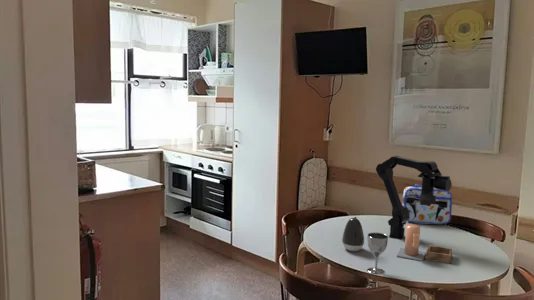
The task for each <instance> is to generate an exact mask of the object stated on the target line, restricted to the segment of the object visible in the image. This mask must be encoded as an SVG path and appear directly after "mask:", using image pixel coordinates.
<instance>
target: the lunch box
mask: <svg viewBox="0 0 534 300" xmlns="http://www.w3.org/2000/svg"><path fill="white" fill-rule="evenodd" d="M421 187H422V184H421V185H420V184H417V183H415V184H414V185H412V186H406V187H405V188H404V189H403V193H402V199H401V202H402V205H403V206H404V208H405V207H407V208H408V212H409V213H410V215H409V216H410V218H409V220H408V221H407V223H411V224H423V225H446V224H449V223H450V221H451V219H452V208H453V207H452V206H453V195H452V193H451V192H450V190H449V191H445V190H439V189H436V188H435V187H434V196H436V201H439V199H443V200H447V201H448V207H447V208H444V209H442V210H441V211H440V213H439V215H438V217H437V220H435V217H436V213H437V208H438V205H436V204H431V205H430V206H427V205H420V203H419V202H416V212H417V215H416V218H415V215H414V212H413V209H412V207H411V205H409V203H406V198H407V197H408V196H416V198H418V199H420V195H421Z"/></svg>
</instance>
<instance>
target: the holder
mask: <svg viewBox="0 0 534 300" xmlns="http://www.w3.org/2000/svg"><path fill="white" fill-rule="evenodd" d="M425 252H426V253H425V259H426V260H429V261H434V262H438V263H439V262H441V263H445V264H451V263H452V257H453V248H452V247H451V248H450V247H444V246H440V245H439V246H437V245H432V244H428V247H427V249H426V251H425Z"/></svg>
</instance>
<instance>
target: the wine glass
mask: <svg viewBox="0 0 534 300" xmlns="http://www.w3.org/2000/svg"><path fill="white" fill-rule="evenodd" d="M388 240H389V235H387V234H385V233H382V232H369V233H367V246H368V249H369V251H370V252H371V254H372V255H373V256H374V260H375V261H374V262H375V265H374V267H373V266H372V267H368V268H367V269H366V270H367V271H366V272H368V273H369V274H373V275H383V274H385V273H386V271H385V270H384V268H381V267H378V260H379V258H380V256H381V255H382V254H384V252H385V251H386V249H387V246H388Z"/></svg>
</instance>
